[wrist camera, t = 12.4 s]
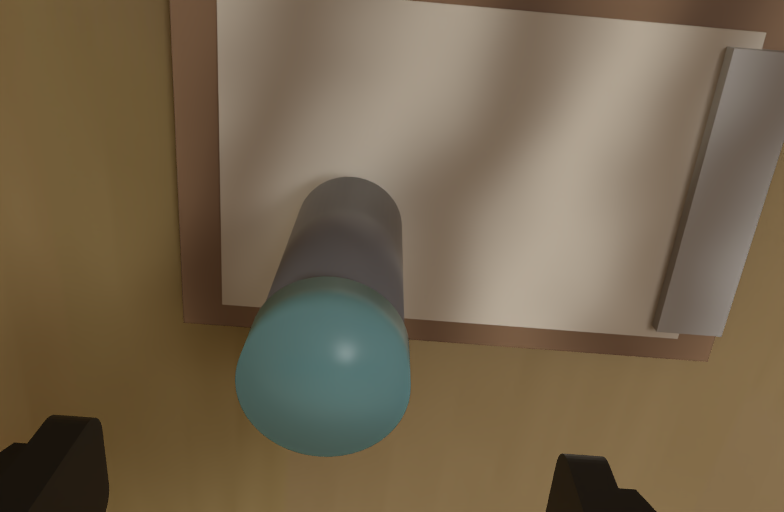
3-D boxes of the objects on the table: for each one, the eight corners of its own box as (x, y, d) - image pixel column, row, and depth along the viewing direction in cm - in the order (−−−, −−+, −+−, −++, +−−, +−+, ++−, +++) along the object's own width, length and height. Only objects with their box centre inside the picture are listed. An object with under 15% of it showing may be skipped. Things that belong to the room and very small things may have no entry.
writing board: (806, 1, 22) (834, 4, 20) (699, 350, 27) (715, 371, 26) (174, -57, 21) (159, -58, 20) (189, 312, 26) (178, 332, 25)
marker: (408, 165, 23) (418, 316, 13) (399, 262, 24) (402, 461, 15) (301, 156, 23) (234, 302, 13) (298, 254, 24) (235, 450, 15)
